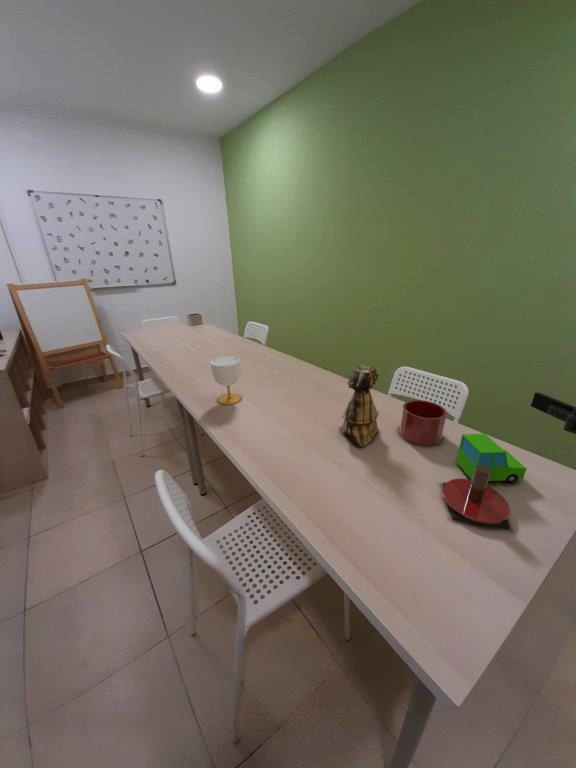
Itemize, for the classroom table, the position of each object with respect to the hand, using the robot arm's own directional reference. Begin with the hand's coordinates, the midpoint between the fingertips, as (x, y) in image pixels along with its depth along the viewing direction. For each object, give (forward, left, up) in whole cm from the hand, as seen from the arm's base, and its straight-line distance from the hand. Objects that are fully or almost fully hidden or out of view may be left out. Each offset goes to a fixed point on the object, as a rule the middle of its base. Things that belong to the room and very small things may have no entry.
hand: (562, 393), depth 55 cm
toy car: (+2, -14, -31) cm, 34 cm away
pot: (+17, -30, -30) cm, 46 cm away
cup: (+90, -41, -31) cm, 103 cm away
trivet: (+9, -1, -30) cm, 32 cm away
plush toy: (+37, -26, -31) cm, 54 cm away
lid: (+9, -1, -29) cm, 30 cm away
